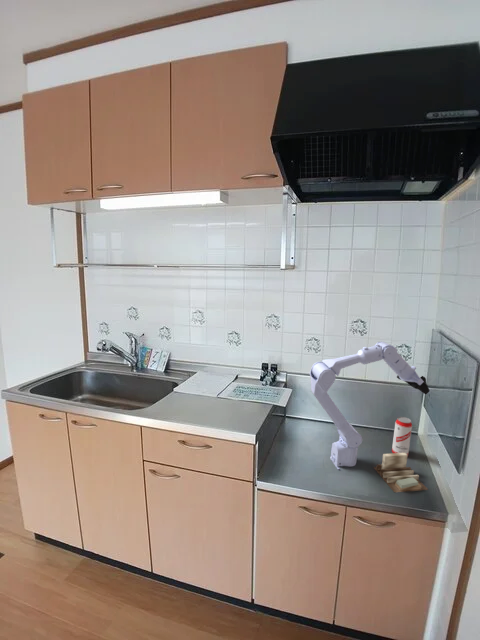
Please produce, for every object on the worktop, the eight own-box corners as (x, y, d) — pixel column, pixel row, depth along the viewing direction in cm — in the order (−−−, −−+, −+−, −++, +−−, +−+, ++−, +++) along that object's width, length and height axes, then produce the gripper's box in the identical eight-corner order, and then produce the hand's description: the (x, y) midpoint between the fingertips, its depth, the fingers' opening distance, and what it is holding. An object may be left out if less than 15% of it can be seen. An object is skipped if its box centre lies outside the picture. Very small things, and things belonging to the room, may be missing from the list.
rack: (394, 494, 116) (395, 487, 115) (372, 469, 129) (373, 462, 129) (428, 492, 118) (429, 484, 117) (403, 467, 131) (404, 460, 131)
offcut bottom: (400, 490, 116) (400, 487, 116) (395, 485, 119) (395, 482, 119) (421, 489, 118) (421, 486, 117) (415, 483, 120) (415, 480, 120)
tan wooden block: (383, 473, 126) (385, 456, 124) (381, 470, 127) (383, 453, 126) (405, 471, 127) (407, 455, 126) (402, 468, 129) (404, 452, 127)
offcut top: (401, 488, 116) (402, 485, 116) (396, 483, 118) (396, 480, 118) (417, 484, 118) (418, 481, 118) (412, 480, 120) (412, 477, 120)
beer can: (409, 460, 136) (414, 424, 133) (393, 458, 137) (398, 422, 134) (405, 451, 142) (410, 416, 139) (389, 449, 143) (394, 415, 140)
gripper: (419, 364, 120) (441, 388, 123) (396, 353, 134) (415, 374, 137) (405, 378, 120) (427, 401, 123) (383, 366, 134) (403, 387, 137)
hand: (420, 388), depth 130 cm, fingers open, 7 cm apart
